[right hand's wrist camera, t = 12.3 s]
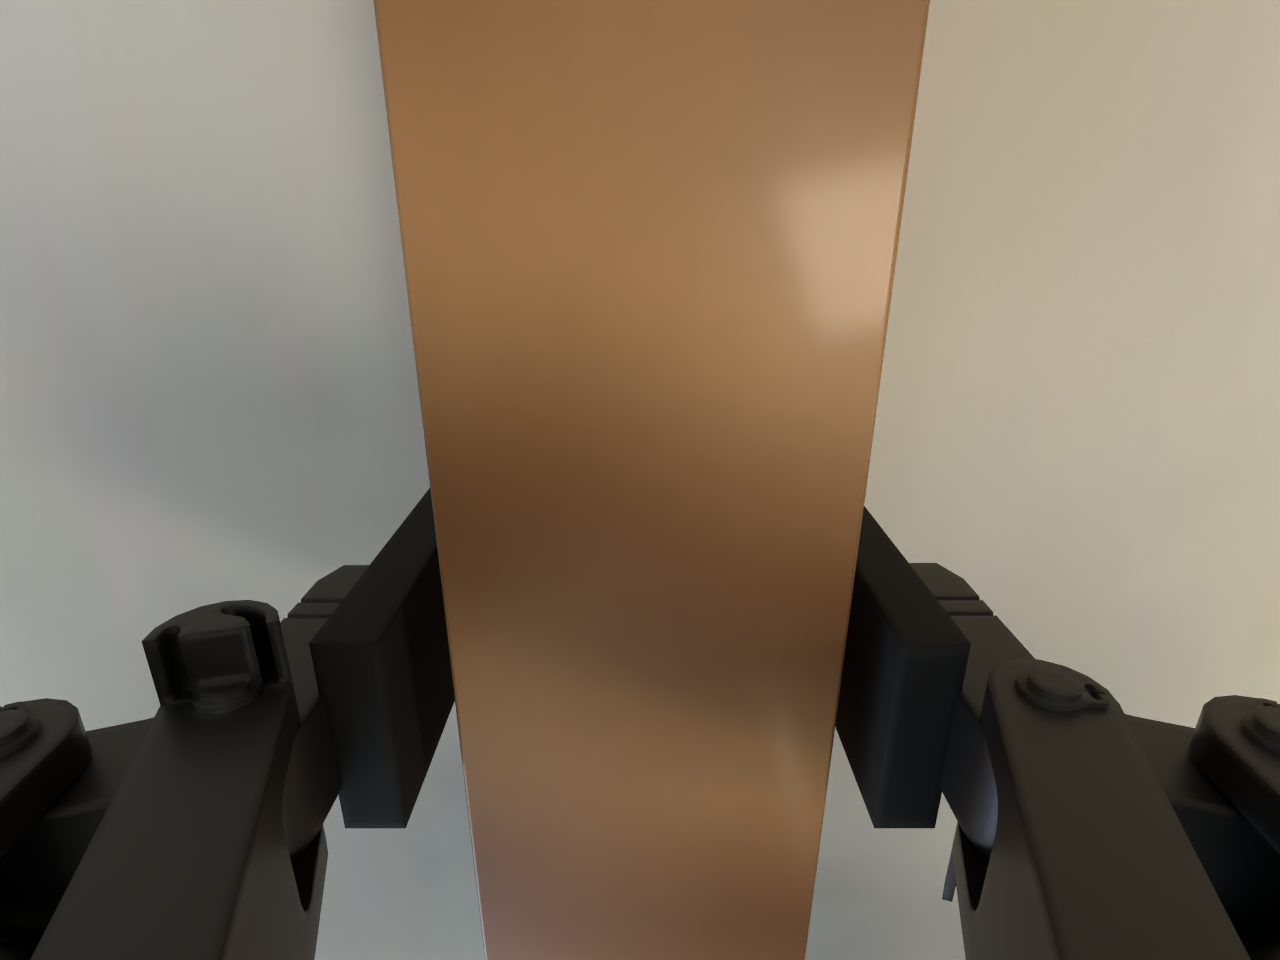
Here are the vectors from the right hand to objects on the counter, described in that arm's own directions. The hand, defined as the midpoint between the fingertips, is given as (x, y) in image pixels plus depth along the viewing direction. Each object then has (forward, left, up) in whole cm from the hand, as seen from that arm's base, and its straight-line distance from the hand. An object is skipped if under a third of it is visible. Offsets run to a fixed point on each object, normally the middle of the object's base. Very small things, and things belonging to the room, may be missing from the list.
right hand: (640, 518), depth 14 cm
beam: (+15, -16, -1) cm, 22 cm away
